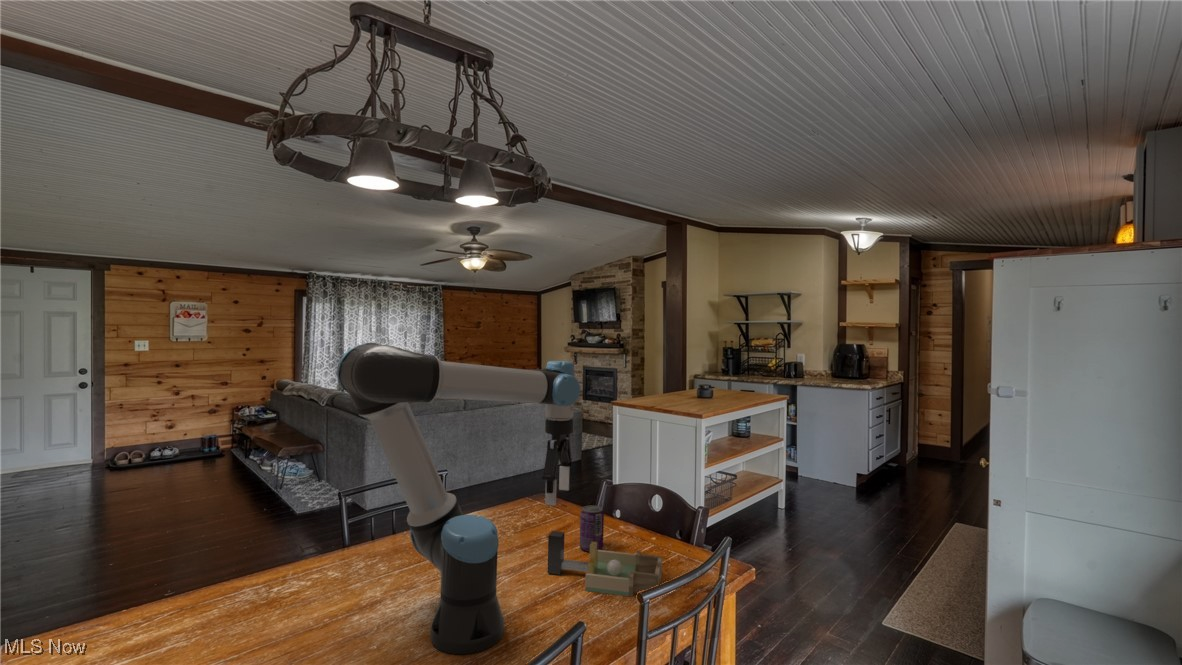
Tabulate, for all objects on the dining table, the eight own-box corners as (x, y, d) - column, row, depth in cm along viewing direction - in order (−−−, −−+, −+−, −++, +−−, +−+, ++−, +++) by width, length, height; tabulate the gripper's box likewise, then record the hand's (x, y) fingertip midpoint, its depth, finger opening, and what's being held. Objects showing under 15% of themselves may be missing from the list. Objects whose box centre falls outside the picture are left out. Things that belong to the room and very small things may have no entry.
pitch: (628, 596, 131) (629, 580, 131) (585, 590, 133) (585, 574, 133) (636, 568, 147) (637, 554, 147) (597, 564, 149) (598, 549, 149)
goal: (657, 600, 129) (657, 579, 129) (628, 596, 131) (629, 576, 131) (662, 571, 145) (662, 553, 145) (636, 568, 147) (637, 550, 147)
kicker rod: (593, 581, 138) (594, 542, 138) (546, 575, 141) (547, 537, 141) (597, 571, 144) (598, 534, 144) (552, 565, 146) (553, 529, 146)
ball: (620, 579, 137) (620, 564, 137) (605, 578, 138) (605, 562, 138) (622, 573, 141) (623, 558, 141) (608, 571, 142) (608, 556, 142)
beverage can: (603, 544, 163) (604, 505, 163) (602, 554, 156) (603, 513, 156) (580, 543, 163) (581, 504, 163) (578, 552, 156) (579, 511, 156)
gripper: (560, 426, 130) (558, 513, 130) (583, 412, 155) (581, 485, 155) (531, 425, 132) (529, 510, 132) (558, 411, 156) (556, 483, 156)
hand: (557, 497), depth 143 cm, fingers open, 13 cm apart
